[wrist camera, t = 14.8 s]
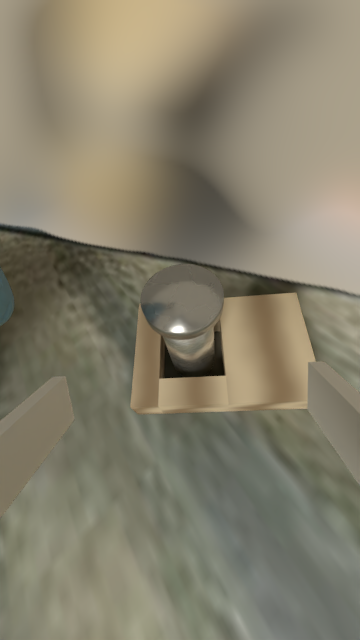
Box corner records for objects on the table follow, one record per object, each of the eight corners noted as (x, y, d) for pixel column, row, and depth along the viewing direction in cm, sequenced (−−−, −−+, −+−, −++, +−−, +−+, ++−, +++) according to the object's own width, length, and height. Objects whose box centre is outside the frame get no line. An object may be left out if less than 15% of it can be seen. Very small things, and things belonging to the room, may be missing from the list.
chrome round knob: (165, 387, 30) (137, 334, 20) (166, 335, 33) (143, 267, 23) (224, 384, 29) (227, 329, 19) (219, 332, 33) (220, 260, 22)
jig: (138, 414, 29) (130, 407, 26) (145, 317, 35) (139, 304, 32) (316, 408, 27) (326, 400, 24) (290, 307, 33) (296, 292, 31)
